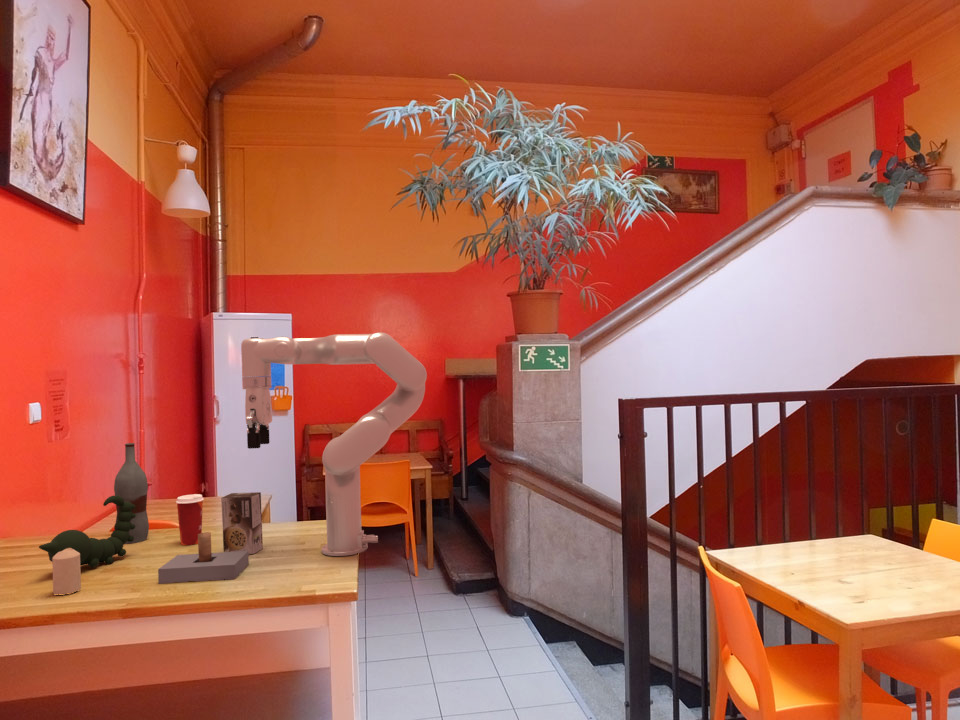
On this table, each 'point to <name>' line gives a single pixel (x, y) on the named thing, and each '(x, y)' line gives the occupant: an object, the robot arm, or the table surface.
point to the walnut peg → (204, 547)
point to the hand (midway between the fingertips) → (258, 446)
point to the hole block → (203, 567)
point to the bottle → (133, 493)
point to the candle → (66, 572)
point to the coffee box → (242, 522)
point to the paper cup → (190, 518)
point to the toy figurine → (92, 547)
